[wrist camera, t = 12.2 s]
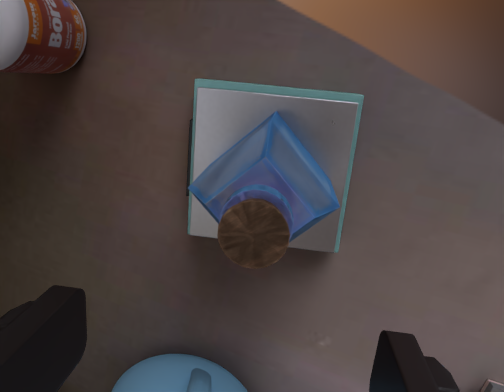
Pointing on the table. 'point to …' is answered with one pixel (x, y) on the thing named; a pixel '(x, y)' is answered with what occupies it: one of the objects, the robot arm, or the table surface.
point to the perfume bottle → (264, 194)
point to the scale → (279, 91)
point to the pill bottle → (40, 36)
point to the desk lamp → (492, 386)
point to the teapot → (177, 376)
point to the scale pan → (302, 125)
